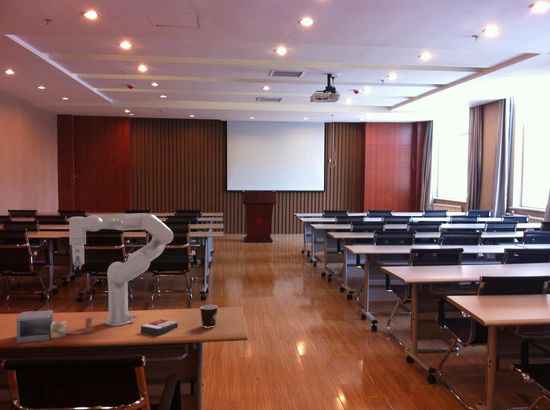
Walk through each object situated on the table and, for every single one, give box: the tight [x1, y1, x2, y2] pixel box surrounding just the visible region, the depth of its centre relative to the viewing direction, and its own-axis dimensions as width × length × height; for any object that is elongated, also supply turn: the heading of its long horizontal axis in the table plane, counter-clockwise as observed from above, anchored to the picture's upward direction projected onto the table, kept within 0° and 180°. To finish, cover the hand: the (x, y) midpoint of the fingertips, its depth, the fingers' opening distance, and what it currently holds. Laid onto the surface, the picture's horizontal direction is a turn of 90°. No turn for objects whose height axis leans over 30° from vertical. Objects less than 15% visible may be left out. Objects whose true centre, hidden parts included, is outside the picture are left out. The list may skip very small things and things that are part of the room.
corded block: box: [50, 317, 94, 339], centre depth 223 cm, size 18×6×7 cm, turn 106°
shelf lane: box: [15, 309, 54, 344], centre depth 218 cm, size 13×12×11 cm
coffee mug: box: [199, 304, 218, 327], centre depth 237 cm, size 12×9×10 cm
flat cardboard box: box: [140, 318, 179, 337], centre depth 230 cm, size 11×4×15 cm
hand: (78, 275), depth 232 cm, fingers open, 9 cm apart
